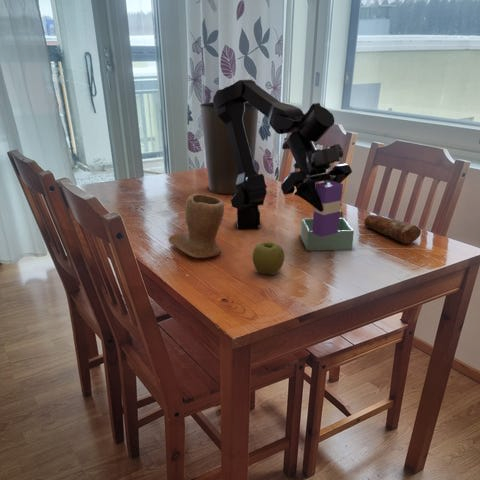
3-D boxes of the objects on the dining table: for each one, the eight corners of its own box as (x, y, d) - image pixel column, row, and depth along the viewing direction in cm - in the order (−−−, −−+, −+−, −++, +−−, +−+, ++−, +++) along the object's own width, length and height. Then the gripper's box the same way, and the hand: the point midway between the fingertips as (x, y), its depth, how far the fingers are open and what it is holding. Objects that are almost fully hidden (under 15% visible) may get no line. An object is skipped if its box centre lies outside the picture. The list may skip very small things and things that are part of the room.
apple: (260, 281, 110) (261, 253, 107) (246, 268, 117) (246, 241, 113) (289, 276, 113) (290, 248, 109) (274, 263, 119) (274, 237, 116)
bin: (306, 250, 127) (308, 231, 124) (300, 236, 137) (301, 218, 134) (351, 249, 127) (353, 230, 125) (342, 235, 137) (344, 217, 134)
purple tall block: (311, 232, 119) (315, 183, 113) (327, 228, 122) (332, 180, 115) (321, 237, 116) (326, 187, 110) (337, 233, 119) (343, 184, 113)
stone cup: (233, 255, 124) (232, 199, 117) (193, 265, 119) (189, 206, 111) (205, 238, 135) (203, 186, 128) (168, 246, 130) (163, 192, 123)
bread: (403, 247, 128) (407, 227, 126) (359, 227, 143) (362, 209, 141) (421, 243, 131) (425, 224, 128) (376, 224, 146) (378, 206, 143)
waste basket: (196, 182, 191) (192, 101, 176) (243, 178, 197) (243, 100, 182) (215, 200, 169) (212, 109, 154) (267, 195, 175) (269, 106, 160)
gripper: (291, 136, 105) (319, 197, 103) (351, 129, 114) (379, 185, 112) (269, 165, 115) (294, 221, 113) (326, 157, 124) (351, 208, 122)
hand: (330, 208), depth 115 cm, fingers closed on purple tall block, 5 cm apart
